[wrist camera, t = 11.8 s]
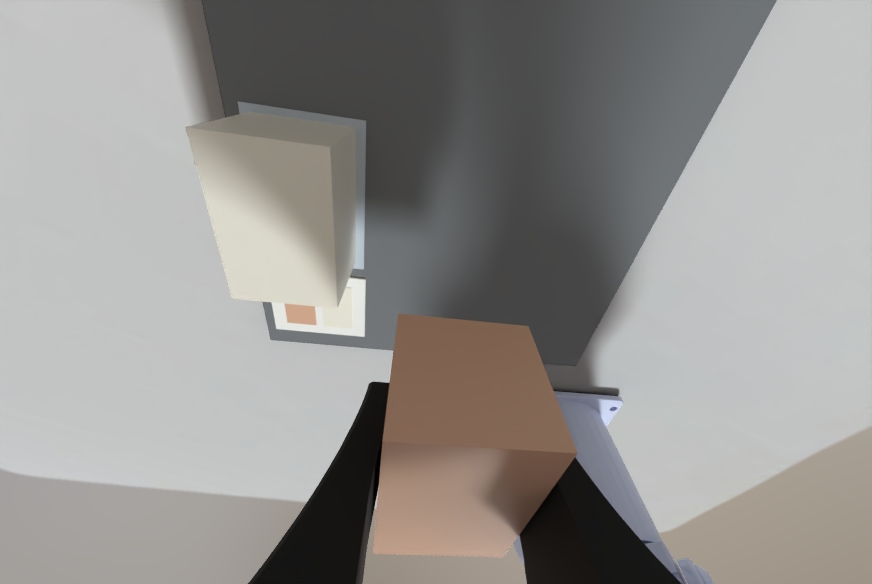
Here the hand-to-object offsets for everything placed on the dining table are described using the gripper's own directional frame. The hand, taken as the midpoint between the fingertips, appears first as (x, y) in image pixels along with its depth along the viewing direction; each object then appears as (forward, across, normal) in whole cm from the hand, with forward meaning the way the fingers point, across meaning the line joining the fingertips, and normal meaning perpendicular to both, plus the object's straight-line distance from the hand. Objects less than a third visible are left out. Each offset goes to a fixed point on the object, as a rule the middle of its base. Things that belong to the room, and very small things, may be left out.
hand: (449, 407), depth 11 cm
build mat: (+8, 0, -5) cm, 10 cm away
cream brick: (+8, +6, -4) cm, 11 cm away
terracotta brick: (+1, 0, 0) cm, 1 cm away
